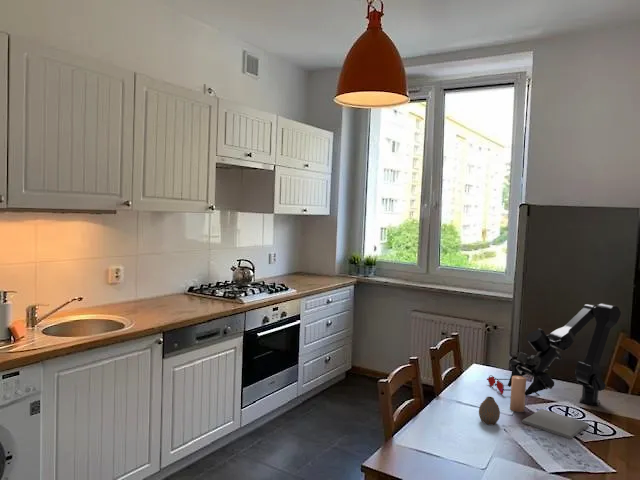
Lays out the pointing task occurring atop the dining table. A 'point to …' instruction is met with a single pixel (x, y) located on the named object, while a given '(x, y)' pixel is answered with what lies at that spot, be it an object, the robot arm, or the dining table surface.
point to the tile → (555, 423)
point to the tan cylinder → (518, 393)
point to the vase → (489, 411)
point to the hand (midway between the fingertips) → (516, 390)
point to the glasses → (499, 384)
